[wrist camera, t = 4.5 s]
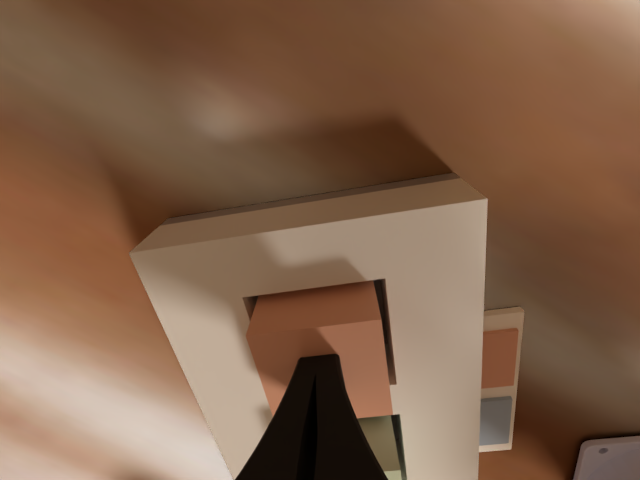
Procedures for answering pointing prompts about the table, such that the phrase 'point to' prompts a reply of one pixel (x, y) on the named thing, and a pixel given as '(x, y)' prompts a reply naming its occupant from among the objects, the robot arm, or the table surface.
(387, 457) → the sage key
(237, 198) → the table surface
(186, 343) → the keypad base
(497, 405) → the tile
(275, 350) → the terracotta key
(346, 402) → the robot arm
